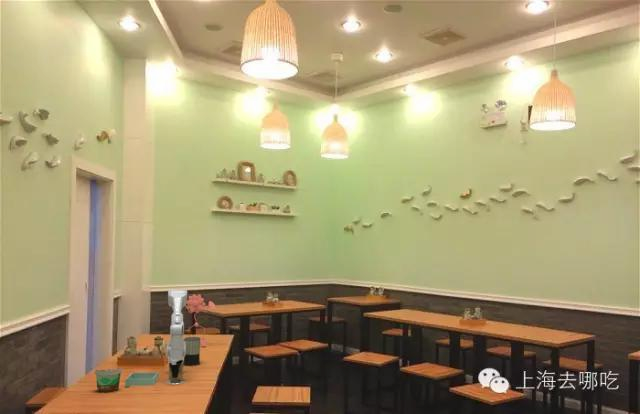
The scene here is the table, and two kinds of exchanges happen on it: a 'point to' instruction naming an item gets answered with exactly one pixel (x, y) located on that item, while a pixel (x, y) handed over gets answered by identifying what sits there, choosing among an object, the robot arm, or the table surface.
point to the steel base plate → (175, 383)
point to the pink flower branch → (198, 309)
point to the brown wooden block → (180, 375)
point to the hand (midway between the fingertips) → (175, 376)
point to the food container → (108, 380)
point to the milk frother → (192, 351)
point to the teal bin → (141, 379)
